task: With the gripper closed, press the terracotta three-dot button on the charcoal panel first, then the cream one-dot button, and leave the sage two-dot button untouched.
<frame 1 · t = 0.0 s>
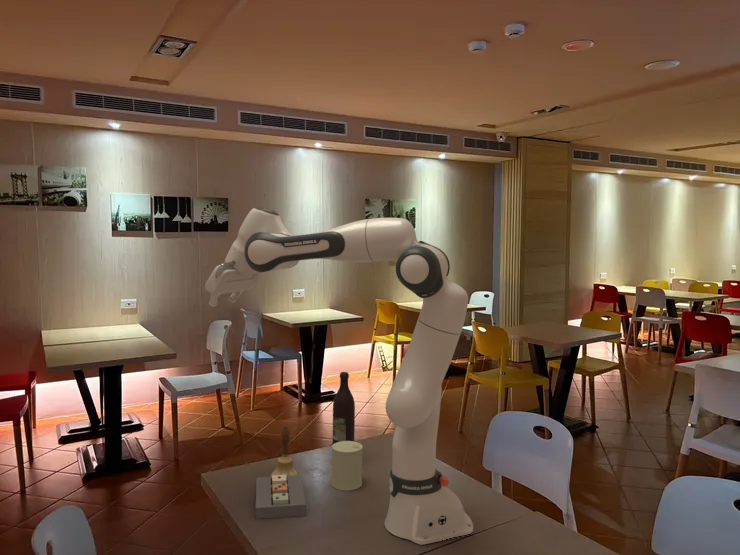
hand: (221, 303, 158), 54 cm above the table, tool tilted 30°, fingers open, 8 cm apart
wine bottle: (343, 464, 184), on the table
button panel: (279, 500, 158), on the table
button three: (279, 490, 157), point 3 cm above the table, slide at 0.0 cm
button two: (280, 500, 151), point 3 cm above the table, slide at 0.0 cm
hand bell: (284, 476, 174), on the table
button one: (279, 481, 163), point 3 cm above the table, slide at 0.0 cm
can: (346, 484, 169), on the table
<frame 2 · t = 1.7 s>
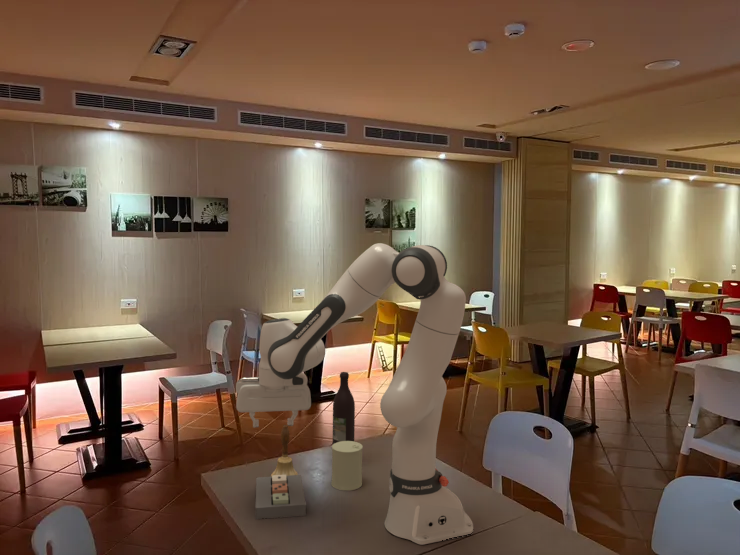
hand: (273, 426, 156), 21 cm above the table, tool pointing down, fingers open, 8 cm apart
nothing on the table moved.
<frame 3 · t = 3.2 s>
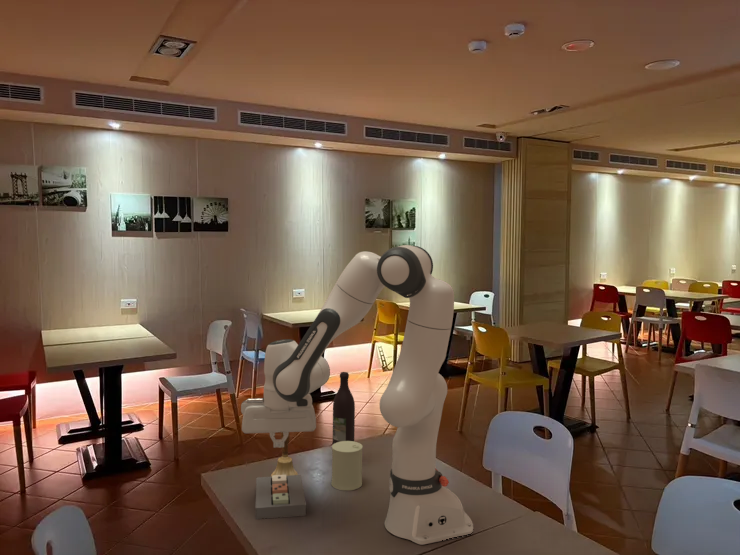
hand: (278, 446, 157), 15 cm above the table, tool pointing down, fingers closed
nothing on the table moved.
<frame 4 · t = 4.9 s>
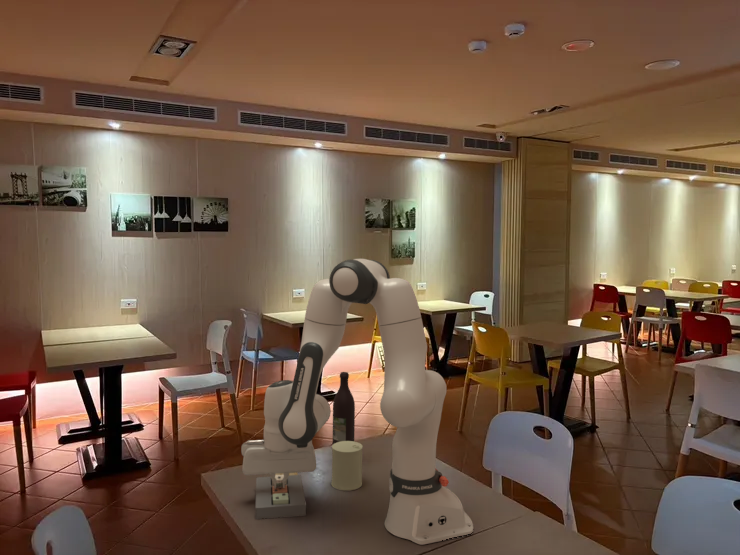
hand: (279, 487, 157), 4 cm above the table, tool pointing down, fingers closed, pressing on button three
button three: (279, 492, 157), point 2 cm above the table, slide at 0.6 cm, touching gripper
everything else where it was.
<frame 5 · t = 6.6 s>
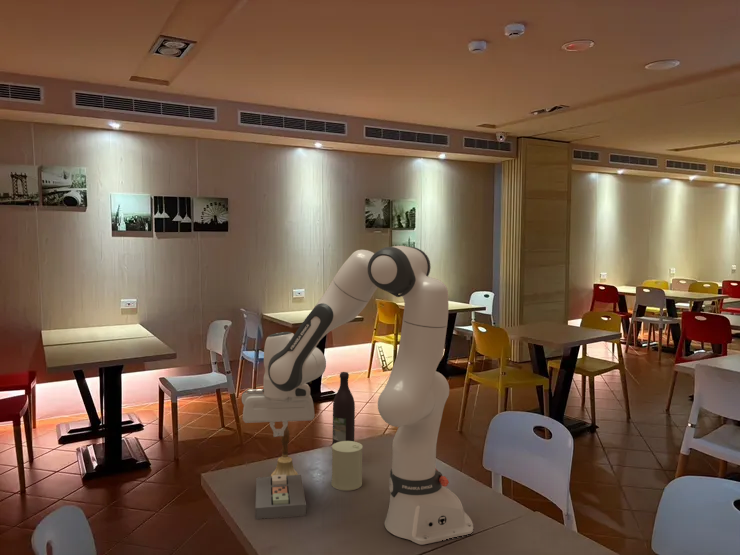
hand: (278, 435, 162), 16 cm above the table, tool pointing down, fingers closed
button three: (279, 493, 157), point 2 cm above the table, slide at 0.9 cm
everything else where it was.
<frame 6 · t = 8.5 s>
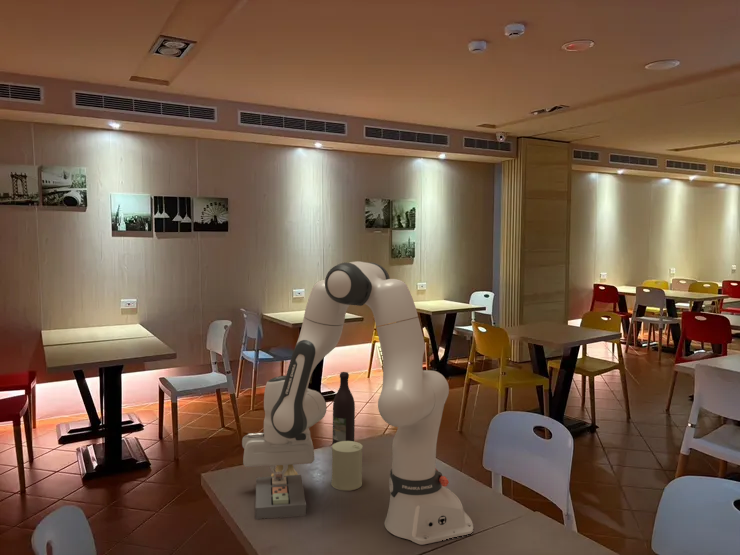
hand: (278, 478, 163), 4 cm above the table, tool pointing down, fingers closed, pressing on button one
button one: (279, 483, 163), point 2 cm above the table, slide at 0.7 cm, touching gripper
everything else where it was.
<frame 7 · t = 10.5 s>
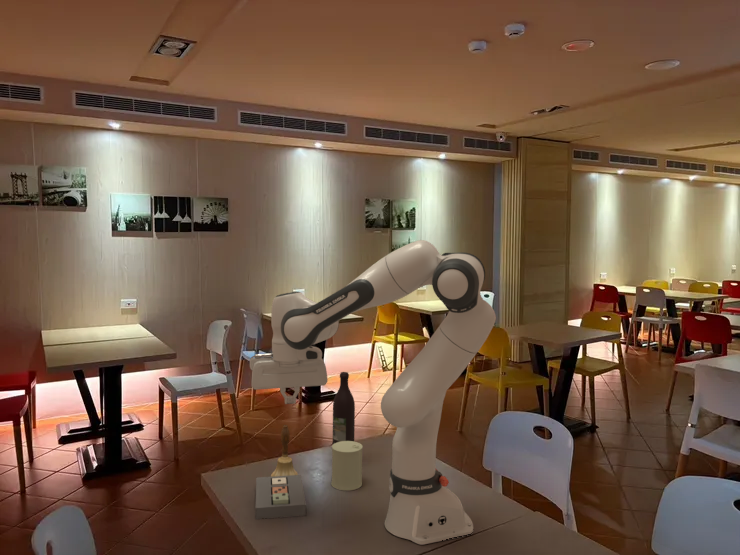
hand: (290, 403, 152), 29 cm above the table, tool pointing down, fingers closed
button one: (279, 484, 163), point 2 cm above the table, slide at 0.9 cm
everything else where it was.
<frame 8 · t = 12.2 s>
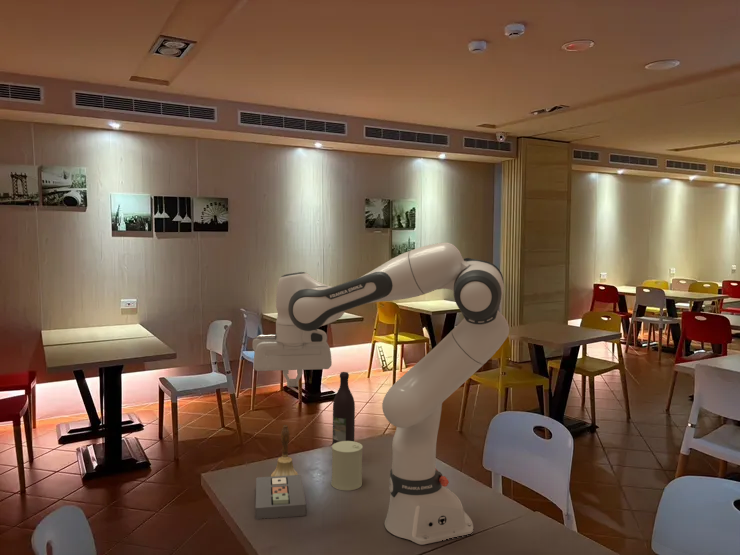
hand: (292, 386, 149), 34 cm above the table, tool pointing down, fingers closed
nothing on the table moved.
at the end: button three slide at 0.9 cm; button one slide at 0.9 cm; button two slide at 0.0 cm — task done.
